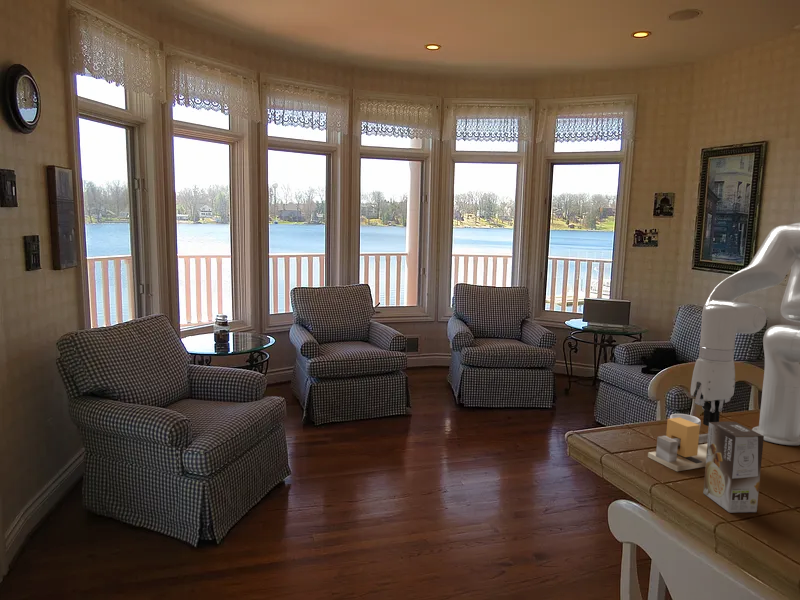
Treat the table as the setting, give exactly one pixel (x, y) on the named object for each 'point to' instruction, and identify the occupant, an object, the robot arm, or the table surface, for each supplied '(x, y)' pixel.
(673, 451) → the pipe stand
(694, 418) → the teacup
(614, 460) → the table surface
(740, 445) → the coffee box
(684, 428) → the collar
